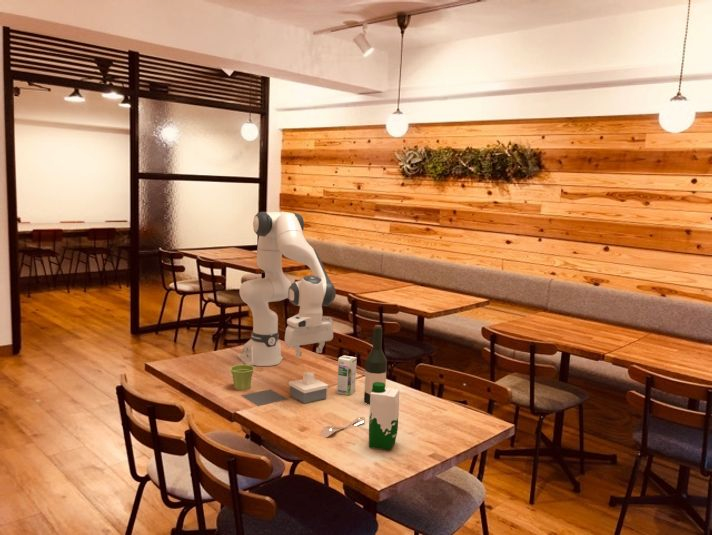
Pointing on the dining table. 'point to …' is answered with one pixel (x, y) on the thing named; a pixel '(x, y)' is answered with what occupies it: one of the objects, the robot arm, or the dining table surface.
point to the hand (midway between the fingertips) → (308, 354)
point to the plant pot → (242, 376)
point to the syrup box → (346, 375)
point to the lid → (308, 383)
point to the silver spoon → (331, 429)
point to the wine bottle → (375, 364)
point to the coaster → (264, 397)
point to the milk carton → (383, 416)
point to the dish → (308, 395)
